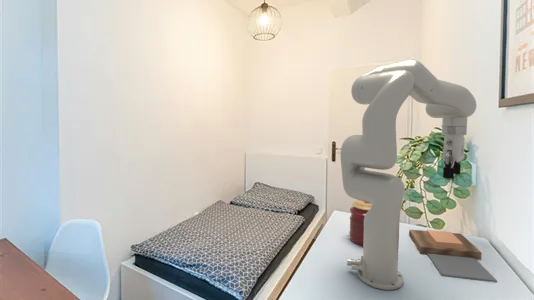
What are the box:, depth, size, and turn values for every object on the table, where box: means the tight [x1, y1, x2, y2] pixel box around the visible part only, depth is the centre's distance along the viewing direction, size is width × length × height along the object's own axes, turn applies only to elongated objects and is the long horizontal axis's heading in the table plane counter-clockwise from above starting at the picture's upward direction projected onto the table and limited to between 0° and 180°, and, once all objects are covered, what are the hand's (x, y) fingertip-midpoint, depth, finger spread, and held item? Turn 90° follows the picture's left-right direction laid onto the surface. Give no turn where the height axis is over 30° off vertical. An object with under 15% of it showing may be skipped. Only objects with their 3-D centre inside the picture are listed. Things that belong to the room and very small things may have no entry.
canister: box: [349, 199, 372, 247], centre depth 101 cm, size 13×13×18 cm
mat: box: [426, 253, 498, 283], centre depth 82 cm, size 14×13×1 cm
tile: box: [426, 229, 463, 250], centre depth 94 cm, size 8×10×2 cm
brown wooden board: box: [408, 229, 482, 261], centre depth 96 cm, size 18×15×2 cm
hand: (451, 175), depth 99 cm, fingers open, 9 cm apart
